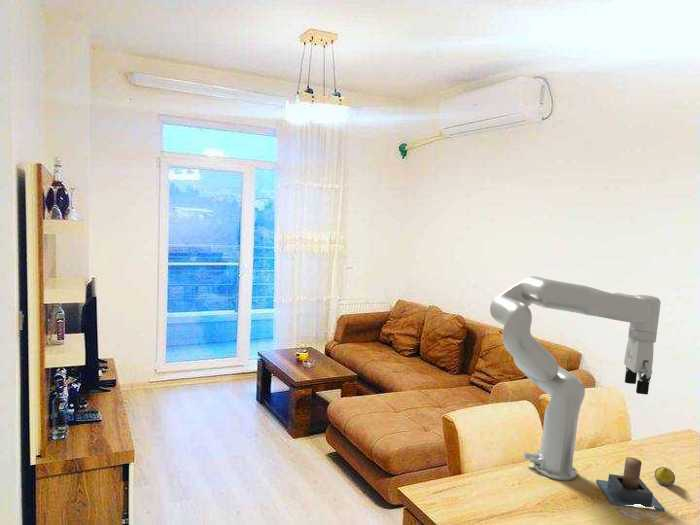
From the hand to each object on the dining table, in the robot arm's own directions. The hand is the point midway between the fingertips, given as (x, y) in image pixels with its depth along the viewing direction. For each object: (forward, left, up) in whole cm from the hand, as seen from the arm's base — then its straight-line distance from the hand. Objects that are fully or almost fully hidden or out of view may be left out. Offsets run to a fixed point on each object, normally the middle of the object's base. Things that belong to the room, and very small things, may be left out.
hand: (635, 388), depth 159 cm
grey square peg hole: (-5, -16, -27) cm, 32 cm away
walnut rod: (-5, -16, -27) cm, 31 cm away
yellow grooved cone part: (+9, -6, -28) cm, 30 cm away
